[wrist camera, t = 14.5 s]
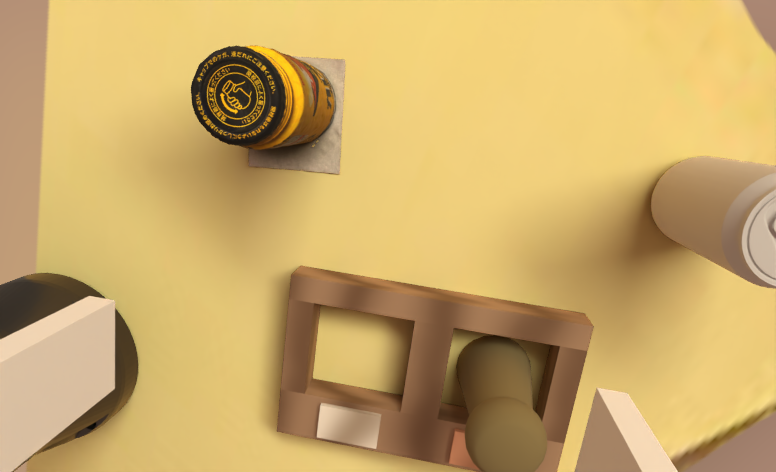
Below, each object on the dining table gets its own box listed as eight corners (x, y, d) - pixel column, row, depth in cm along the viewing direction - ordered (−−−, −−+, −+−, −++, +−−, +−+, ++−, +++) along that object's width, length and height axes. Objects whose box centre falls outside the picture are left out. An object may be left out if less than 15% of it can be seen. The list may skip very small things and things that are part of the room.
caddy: (286, 414, 45) (275, 434, 42) (300, 265, 42) (289, 276, 39) (547, 465, 43) (554, 489, 40) (584, 313, 40) (595, 328, 37)
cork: (482, 414, 43) (492, 512, 32) (442, 358, 42) (439, 440, 31) (545, 380, 41) (578, 471, 31) (505, 321, 41) (524, 394, 30)
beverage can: (685, 259, 38) (789, 322, 26) (627, 198, 37) (707, 234, 26) (760, 200, 36) (906, 239, 25) (701, 135, 36) (822, 144, 24)
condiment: (345, 59, 37) (298, 33, 26) (340, 173, 39) (293, 196, 28) (251, 53, 38) (164, 25, 27) (250, 165, 40) (168, 185, 29)
